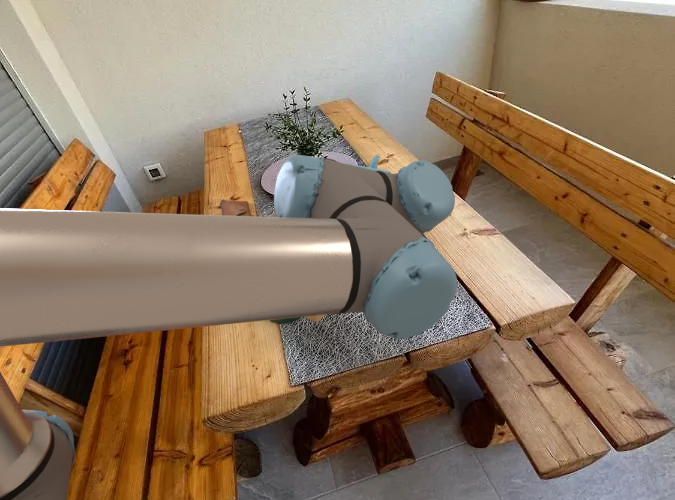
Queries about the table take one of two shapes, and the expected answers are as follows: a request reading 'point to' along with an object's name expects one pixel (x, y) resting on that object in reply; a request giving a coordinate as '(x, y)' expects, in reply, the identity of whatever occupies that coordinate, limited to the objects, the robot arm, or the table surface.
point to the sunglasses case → (234, 208)
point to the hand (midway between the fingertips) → (294, 285)
